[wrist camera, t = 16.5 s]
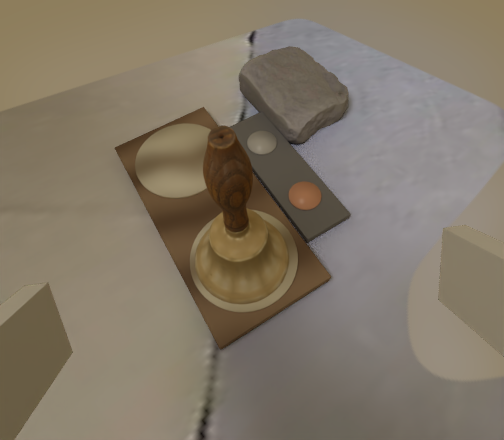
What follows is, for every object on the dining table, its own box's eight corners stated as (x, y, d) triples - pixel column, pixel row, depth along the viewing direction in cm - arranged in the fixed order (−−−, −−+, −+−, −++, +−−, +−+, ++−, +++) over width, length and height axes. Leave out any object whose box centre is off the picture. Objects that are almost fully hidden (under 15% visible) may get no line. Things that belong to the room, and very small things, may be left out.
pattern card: (225, 134, 37) (224, 128, 36) (261, 116, 38) (261, 110, 37) (306, 243, 31) (308, 238, 30) (348, 218, 32) (351, 213, 31)
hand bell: (304, 239, 29) (340, 101, 15) (261, 323, 26) (255, 249, 12) (225, 202, 31) (191, 51, 17) (177, 276, 28) (85, 165, 14)
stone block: (292, 72, 44) (230, 91, 40) (302, 38, 40) (234, 54, 36) (349, 128, 40) (287, 155, 36) (367, 96, 36) (298, 122, 32)
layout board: (118, 154, 36) (113, 145, 35) (205, 114, 39) (203, 105, 37) (221, 349, 27) (218, 347, 25) (328, 280, 29) (331, 275, 28)
